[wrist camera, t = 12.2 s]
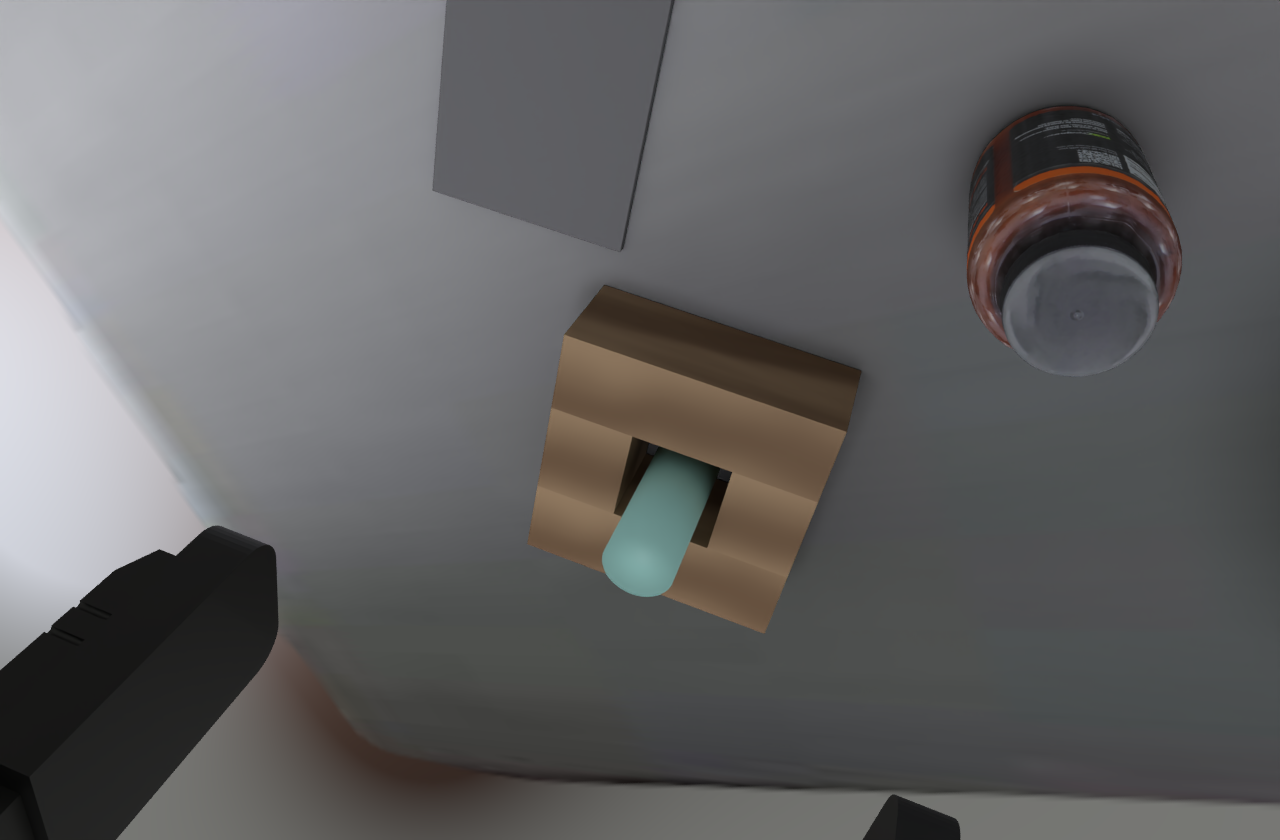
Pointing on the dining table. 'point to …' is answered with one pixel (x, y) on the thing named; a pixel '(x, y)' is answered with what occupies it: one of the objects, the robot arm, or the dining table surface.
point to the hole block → (691, 444)
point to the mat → (549, 109)
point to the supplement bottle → (1069, 242)
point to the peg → (658, 523)
